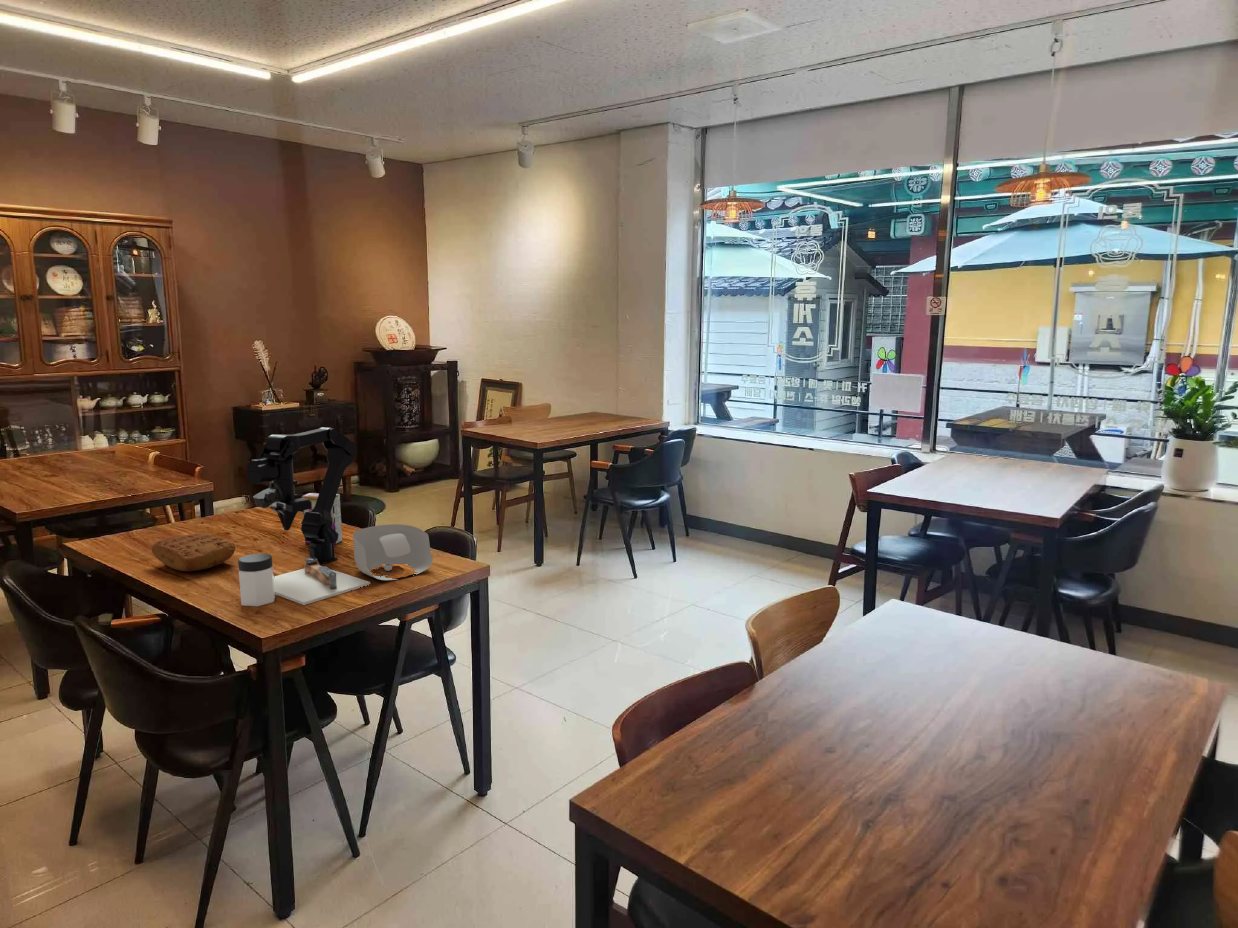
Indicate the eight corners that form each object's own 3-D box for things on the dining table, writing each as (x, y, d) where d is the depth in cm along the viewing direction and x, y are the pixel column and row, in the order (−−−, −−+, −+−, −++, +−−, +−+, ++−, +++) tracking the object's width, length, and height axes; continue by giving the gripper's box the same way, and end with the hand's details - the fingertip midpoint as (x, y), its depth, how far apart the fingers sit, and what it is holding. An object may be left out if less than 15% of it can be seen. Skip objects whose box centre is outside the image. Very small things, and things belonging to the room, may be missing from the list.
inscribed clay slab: (149, 565, 239) (146, 540, 238) (205, 552, 253) (203, 528, 251) (186, 579, 227) (184, 552, 225) (243, 564, 240) (241, 539, 239)
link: (302, 570, 231) (302, 562, 231) (316, 568, 234) (316, 560, 234) (323, 585, 218) (323, 577, 218) (338, 582, 221) (337, 574, 221)
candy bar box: (304, 543, 263) (301, 495, 260) (311, 539, 268) (308, 492, 265) (336, 544, 262) (333, 496, 259) (343, 540, 267) (340, 493, 264)
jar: (267, 593, 215) (264, 551, 213) (282, 600, 210) (279, 556, 208) (234, 601, 209) (230, 558, 207) (248, 609, 203) (245, 564, 201)
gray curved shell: (404, 557, 249) (402, 521, 247) (435, 571, 235) (433, 533, 233) (342, 570, 236) (340, 532, 234) (371, 586, 222) (369, 545, 220)
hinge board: (317, 567, 238) (317, 564, 238) (370, 584, 223) (370, 581, 223) (251, 585, 222) (251, 582, 222) (303, 605, 207) (303, 602, 206)
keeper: (315, 569, 233) (314, 556, 233) (342, 587, 218) (341, 573, 217) (304, 571, 231) (303, 558, 231) (330, 590, 216) (329, 575, 215)
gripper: (238, 478, 227) (243, 531, 230) (274, 486, 216) (279, 541, 219) (275, 472, 236) (278, 523, 239) (311, 480, 225) (314, 533, 228)
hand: (286, 530), depth 231 cm, fingers closed
